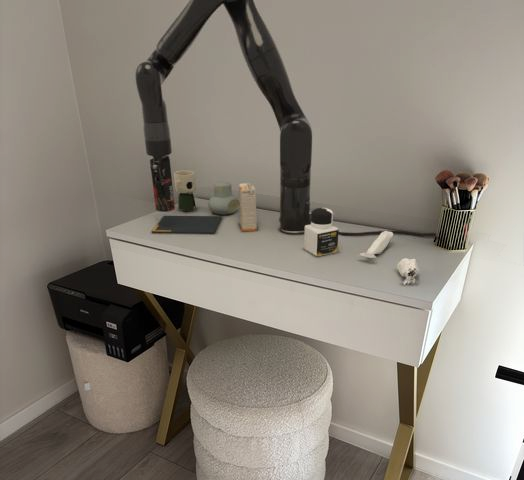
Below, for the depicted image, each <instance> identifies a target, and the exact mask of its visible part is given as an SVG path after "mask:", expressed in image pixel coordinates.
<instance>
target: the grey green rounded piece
mask: <svg viewBox="0 0 524 480" xmlns="http://www.w3.org/2000/svg"><path fill="white" fill-rule="evenodd" d="M232 188H233V187H232V183H231V182H230V181H223V180H222V181H217V182H215V183H214V184H213V189H214V191H213V192H214V195H212V196H211V197H210V198H209V200H208V201H207V206H208V209H209V210H210V211H211V212H212V213H214V214H217V215H223V216H225V215H226V216H228V215H232V214H233V213H235V212H236V211H237V210H239V208H240V207H239V197H236V196H235V195H234V194H233V190H232Z"/></svg>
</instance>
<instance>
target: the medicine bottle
mask: <svg viewBox="0 0 524 480" xmlns="http://www.w3.org/2000/svg"><path fill="white" fill-rule="evenodd" d="M310 214H311V224H310V225H305V233H303V234H304V237H303V238H304V240H303V242H304V243H303V244H304V245H303V249H304V250H305V251H307V252H308V253H310V254H312V255H313V256H315V257H322V256H326V255H331V254H335V253H338V249H339V247H338V245H339V234H338V233H339V232H340V229H339V227H337V226H335V225H333V224H334V223H333V222H334V211H333V210H332V209H330V208H328V207H317V208H315V209H312V210H311V211H310Z"/></svg>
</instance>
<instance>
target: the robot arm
mask: <svg viewBox="0 0 524 480" xmlns="http://www.w3.org/2000/svg"><path fill="white" fill-rule="evenodd" d="M222 5H223V7H224V8H225V11H226V13H227V14H228V16H229V18H230V19H231V22H232V24H233V28H234V30H235V34H236V37H237V41H238V44H239V47H240V50H241V54H242V56H243V59H244V61H245V63H246V66H247V68H248V70H249V72H250V74H251V77H252V78H253V81H254V82H255V84H256V85H257V87H258V89H259V90H260V92H261V94H262V95H263V96H264V98H265V100H266V101H267V102H268V104H269V105H270V108H271V110H272V112H273V114H274V117H275V119H276V123H277V125H278V128H279V133H280V134H279V168H280V169H279V170H280V171H279V183H280V184H279V191H280V192H279V219H278V223H279V231H281V232H282V233H284V234H289V235H299V234H304V233H305V225H310V224H311V177H312V159H313V158H312V156H313V155H312V153H313V152H312V151H313V128H312V125H311V123H310V121H309V120H308V118H307V116H306V114H305V113H304V111H303V109H302V107H301V105H300V104H299V102H298V100H297V98H296V96H295V94H294V90H293V88H292V84H291V81H290V78H289V76H288V72H287V69H286V66H285V63H284V61H283V58H282V56H281V53H280V51H279V49H278V47H277V44H276V42H275V39H274V38H273V36H272V33H271V32H270V30H269V28H268V27H267V24H266V23H265V21H264V20H263V17H262V16H261V14H260V12H259V11H258V7H257V6H256V4H255V0H189V1H188V3H186V5H185V7H184V8H183V9H182V10H181V11H180V13H179V14H178V15H177V16H176V18H175V19H174V20H173V21H172V23H171V24H170V25H169V27H168V28H167V29H166V31H164V33H163V34H162V36H161V37H160V38H159V40H158V42H157V43H156V47H155V49H154V50H153V51H152V53H151V54H150V56H149V57H148V58H147V59H146V60H144V61H142V62H140V63H139V64H138V65H137V66H136V69H135V73H134V75H135V85H136V89H137V93H138V97H139V100H140V104H141V115H142V121H143V123H142V124H143V137H144V144H145V152H146V155H147V156H150V157H152V159H153V164H154V165H150V166H149V167H150V172H151V173H152V174H151V173H150V174H151V180H152V179H153V182H152V185H153V184H154V185H156V189H157V197H158V198H164V197H165V192H164V177H165V170H164V169H163V173H162V174H161V172H160V170H162V163H161V162H162V161H163V160H164V159H165V158H169V159H170V155H172V152H173V151H172V141H171V140H172V139H171V131H170V126H169V119H168V118H169V117H168V110H167V104H166V101H165V99H164V98H163V91H162V85H163V83H165V81H166V80H167V79H168V77H169V75H171V72H172V71H173V69H174V68H175V66H176V65H177V64H178V63H179V62H180V61H181V60H182V58H183V57H184V56H185V54H186V53H187V52H188V51H189V49H191V46H192V45H193V44H194V42H195V41H196V39H197V38H198V37H199V35H200V34H201V32H202V30H203V29H204V26H205V25H206V24H207V22H208V21H209V19H210V18H211V17H212V16H213V15H214V14H215V12H216V11H217V10H218V9H219V8H220V7H221V6H222ZM157 177H158V178H159V181H157ZM384 231H385V230H375V231H374V230H373V231H363V232H362V231H361V232H349V231H348V232H347V231H346V232H345V231H339V233H338V235H340V236H342V235H343V236H365V235H366V236H367V235H380V234H381V233H382V232H384ZM388 231H389V232H392V233H393V234H404V235H410V236H417V237H418V236H419V237H428V236H429V237H430V236H434V237H437V236H436V233H437V232H415V231H408V230H394V229H393V230H392V229H390V230H389V229H388Z"/></svg>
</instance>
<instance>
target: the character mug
mask: <svg viewBox="0 0 524 480" xmlns="http://www.w3.org/2000/svg"><path fill="white" fill-rule="evenodd" d="M195 175H196V173H195V171H193V170H190V169H189V170H187V169H185V170H183V169H182V170H177V171H174V172H173V177H174V186H175V187H174V188H175V189H174V190H175V192H176V193H178V198H177V199H178V201H177V202H178V204H177V205H178V206H177V207H178V210H181V211H184V212H190V211H191V212H192V211H195V210H196V209H197V205H196V198H195V196H194V192H196V190H197V186H196V176H195Z"/></svg>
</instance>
